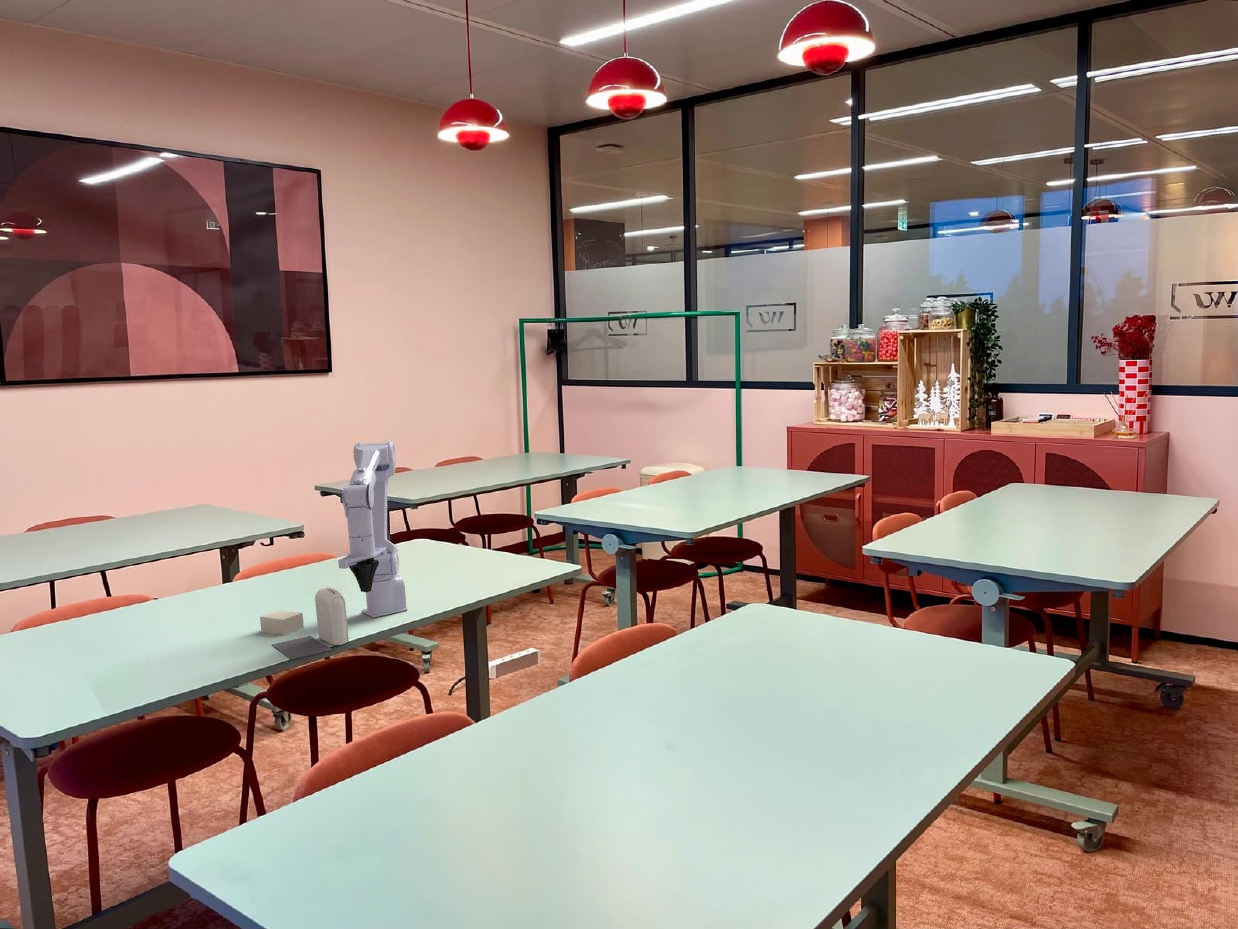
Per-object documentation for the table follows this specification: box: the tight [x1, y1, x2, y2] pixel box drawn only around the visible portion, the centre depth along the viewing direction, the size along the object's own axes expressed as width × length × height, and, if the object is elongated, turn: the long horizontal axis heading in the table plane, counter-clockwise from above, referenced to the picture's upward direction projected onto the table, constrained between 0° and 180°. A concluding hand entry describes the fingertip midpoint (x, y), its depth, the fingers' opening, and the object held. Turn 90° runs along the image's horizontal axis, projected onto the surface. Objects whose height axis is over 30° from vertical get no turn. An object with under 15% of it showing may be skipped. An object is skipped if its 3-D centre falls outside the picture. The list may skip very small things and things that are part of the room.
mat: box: [271, 635, 333, 661], centre depth 209 cm, size 9×14×1 cm, turn 38°
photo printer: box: [314, 587, 349, 646], centre depth 213 cm, size 10×4×12 cm, turn 39°
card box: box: [259, 609, 305, 636], centre depth 224 cm, size 6×8×4 cm
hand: (366, 591), depth 218 cm, fingers closed
